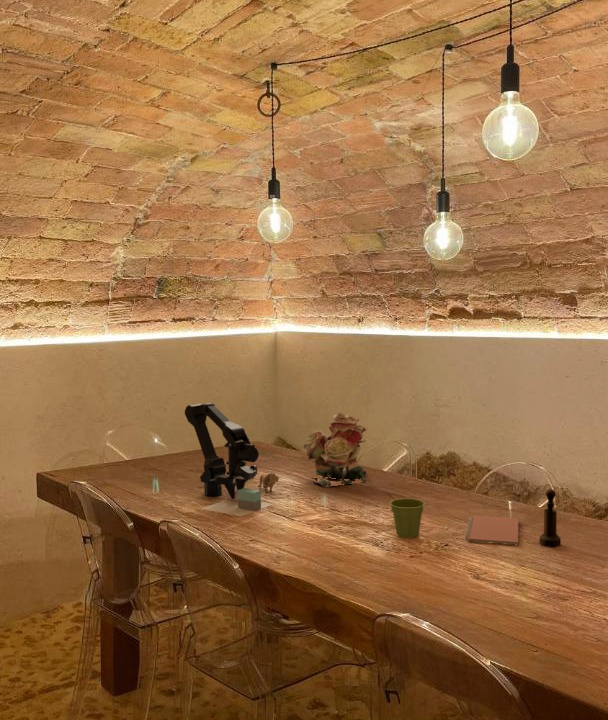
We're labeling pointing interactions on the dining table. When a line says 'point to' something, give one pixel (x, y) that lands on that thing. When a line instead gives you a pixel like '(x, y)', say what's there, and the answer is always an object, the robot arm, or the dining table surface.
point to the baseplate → (236, 507)
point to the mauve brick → (227, 496)
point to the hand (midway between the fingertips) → (236, 497)
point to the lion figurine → (268, 481)
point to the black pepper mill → (550, 523)
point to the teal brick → (249, 495)
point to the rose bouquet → (337, 450)
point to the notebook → (493, 530)
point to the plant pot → (407, 516)
